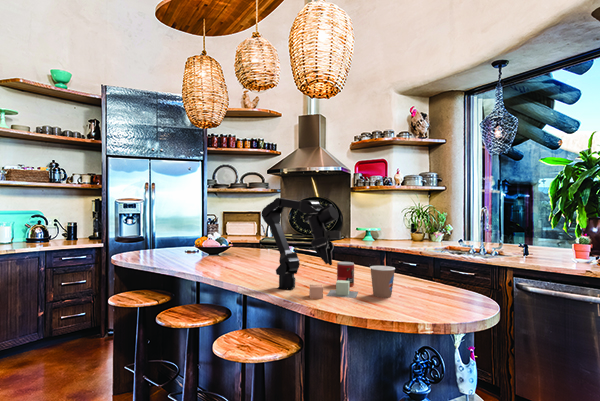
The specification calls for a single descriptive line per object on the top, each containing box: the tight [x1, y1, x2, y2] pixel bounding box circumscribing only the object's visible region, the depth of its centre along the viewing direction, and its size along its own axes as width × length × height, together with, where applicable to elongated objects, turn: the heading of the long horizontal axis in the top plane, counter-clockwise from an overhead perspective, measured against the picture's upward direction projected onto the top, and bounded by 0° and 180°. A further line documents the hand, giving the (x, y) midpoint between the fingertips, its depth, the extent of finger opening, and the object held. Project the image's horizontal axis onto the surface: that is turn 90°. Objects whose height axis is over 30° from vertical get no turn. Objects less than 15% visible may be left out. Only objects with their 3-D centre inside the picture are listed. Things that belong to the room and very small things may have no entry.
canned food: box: [336, 261, 355, 288], centre depth 170 cm, size 8×8×11 cm
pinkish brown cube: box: [308, 284, 324, 300], centre depth 146 cm, size 5×5×5 cm
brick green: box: [335, 280, 351, 295], centre depth 153 cm, size 5×5×5 cm
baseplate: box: [326, 289, 359, 299], centre depth 153 cm, size 12×12×1 cm
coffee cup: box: [369, 265, 396, 299], centre depth 151 cm, size 10×10×12 cm
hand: (329, 264), depth 149 cm, fingers open, 9 cm apart
